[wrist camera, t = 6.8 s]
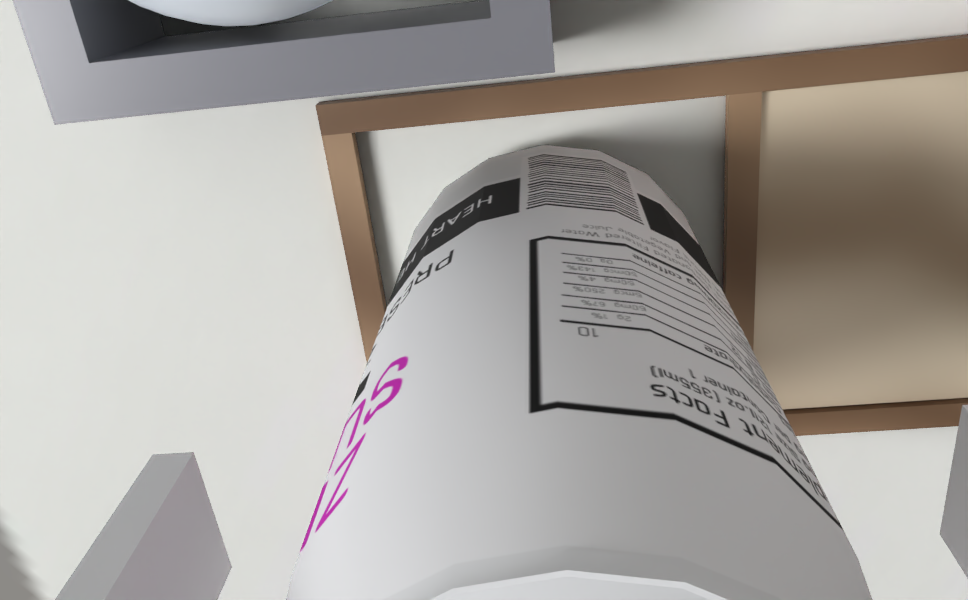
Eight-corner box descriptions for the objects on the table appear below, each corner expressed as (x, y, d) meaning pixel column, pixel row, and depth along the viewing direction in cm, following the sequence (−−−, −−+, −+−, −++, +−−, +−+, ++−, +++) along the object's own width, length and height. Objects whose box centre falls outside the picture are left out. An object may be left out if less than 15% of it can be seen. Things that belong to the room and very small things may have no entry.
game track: (1500, 384, 23) (1516, 391, 23) (388, 453, 26) (386, 460, 26) (1711, -43, 18) (1734, -42, 18) (319, 102, 21) (315, 105, 21)
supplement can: (715, 370, 24) (947, 946, 11) (451, 422, 26) (363, 994, 12) (671, 105, 21) (925, 460, 8) (370, 180, 22) (125, 597, 9)
